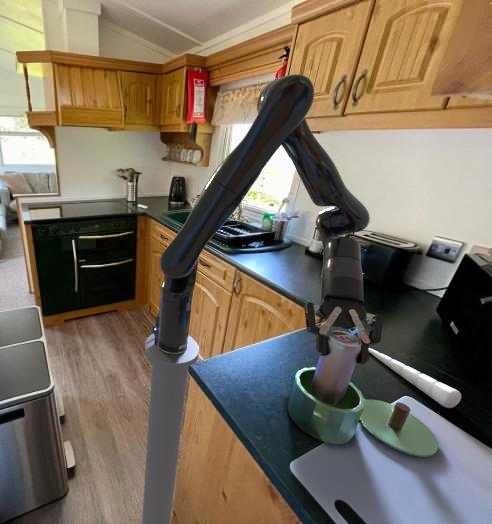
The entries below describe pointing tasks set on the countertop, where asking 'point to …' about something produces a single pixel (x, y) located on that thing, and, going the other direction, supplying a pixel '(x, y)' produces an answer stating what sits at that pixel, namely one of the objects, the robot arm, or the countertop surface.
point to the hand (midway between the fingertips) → (341, 359)
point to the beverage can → (336, 367)
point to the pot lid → (398, 428)
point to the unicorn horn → (422, 381)
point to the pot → (324, 411)
